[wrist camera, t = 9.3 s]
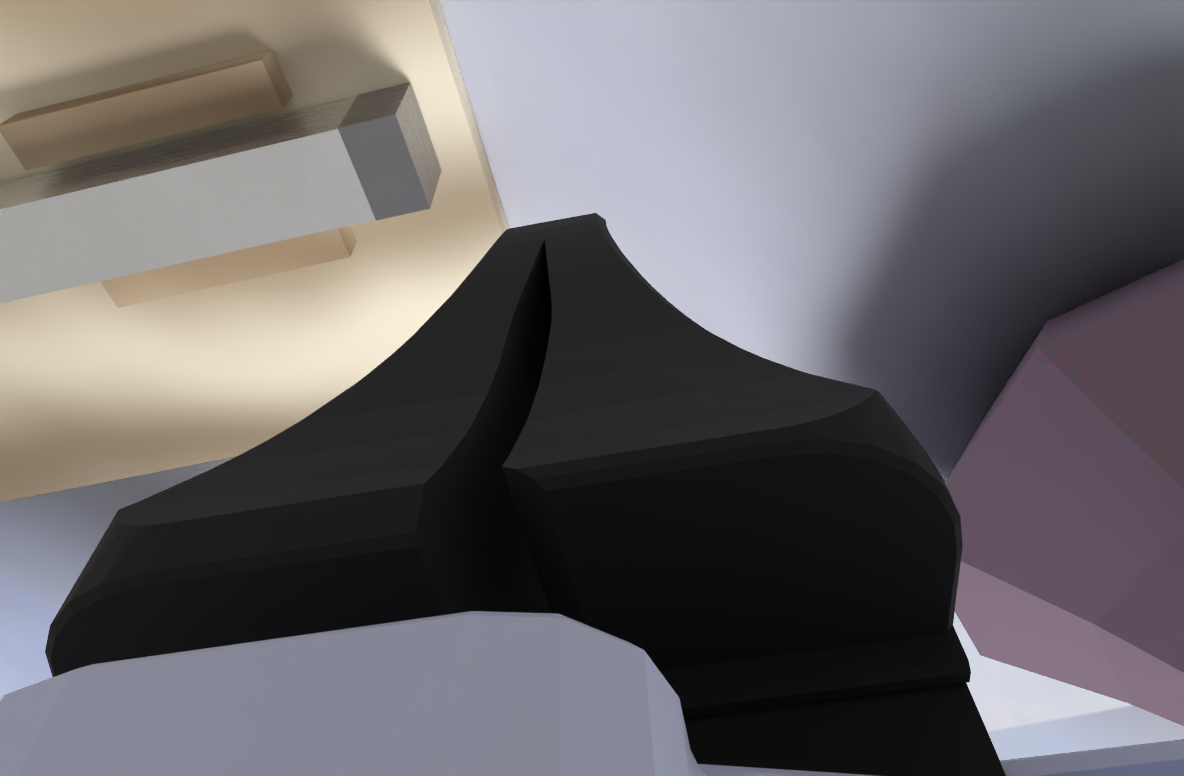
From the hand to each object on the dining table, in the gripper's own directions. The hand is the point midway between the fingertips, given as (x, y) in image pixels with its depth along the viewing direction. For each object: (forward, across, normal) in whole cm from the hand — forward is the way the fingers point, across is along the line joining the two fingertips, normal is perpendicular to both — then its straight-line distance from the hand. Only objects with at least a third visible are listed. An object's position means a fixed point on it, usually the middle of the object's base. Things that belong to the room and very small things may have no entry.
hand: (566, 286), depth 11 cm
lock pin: (+8, +8, 0) cm, 12 cm away
